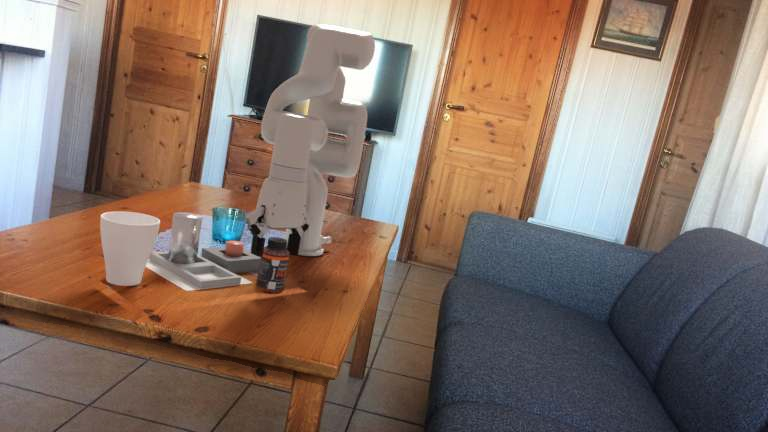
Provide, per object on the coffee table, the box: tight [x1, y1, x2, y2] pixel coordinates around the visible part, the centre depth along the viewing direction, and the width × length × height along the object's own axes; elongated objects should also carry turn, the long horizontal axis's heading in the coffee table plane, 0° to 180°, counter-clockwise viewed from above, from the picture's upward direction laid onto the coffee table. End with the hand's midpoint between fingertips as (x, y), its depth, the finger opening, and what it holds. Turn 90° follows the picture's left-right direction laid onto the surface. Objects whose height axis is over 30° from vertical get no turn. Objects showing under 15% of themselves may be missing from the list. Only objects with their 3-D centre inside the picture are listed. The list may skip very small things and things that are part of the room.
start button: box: [224, 240, 245, 257], centre depth 140 cm, size 4×4×3 cm
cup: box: [99, 210, 161, 290], centre depth 117 cm, size 10×10×14 cm
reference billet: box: [168, 211, 204, 264], centre depth 133 cm, size 6×6×11 cm
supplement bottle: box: [256, 236, 291, 295], centre depth 131 cm, size 6×6×11 cm
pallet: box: [145, 251, 254, 292], centre depth 131 cm, size 16×20×3 cm
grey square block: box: [200, 246, 261, 274], centre depth 141 cm, size 10×10×4 cm
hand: (274, 254), depth 130 cm, fingers open, 9 cm apart
